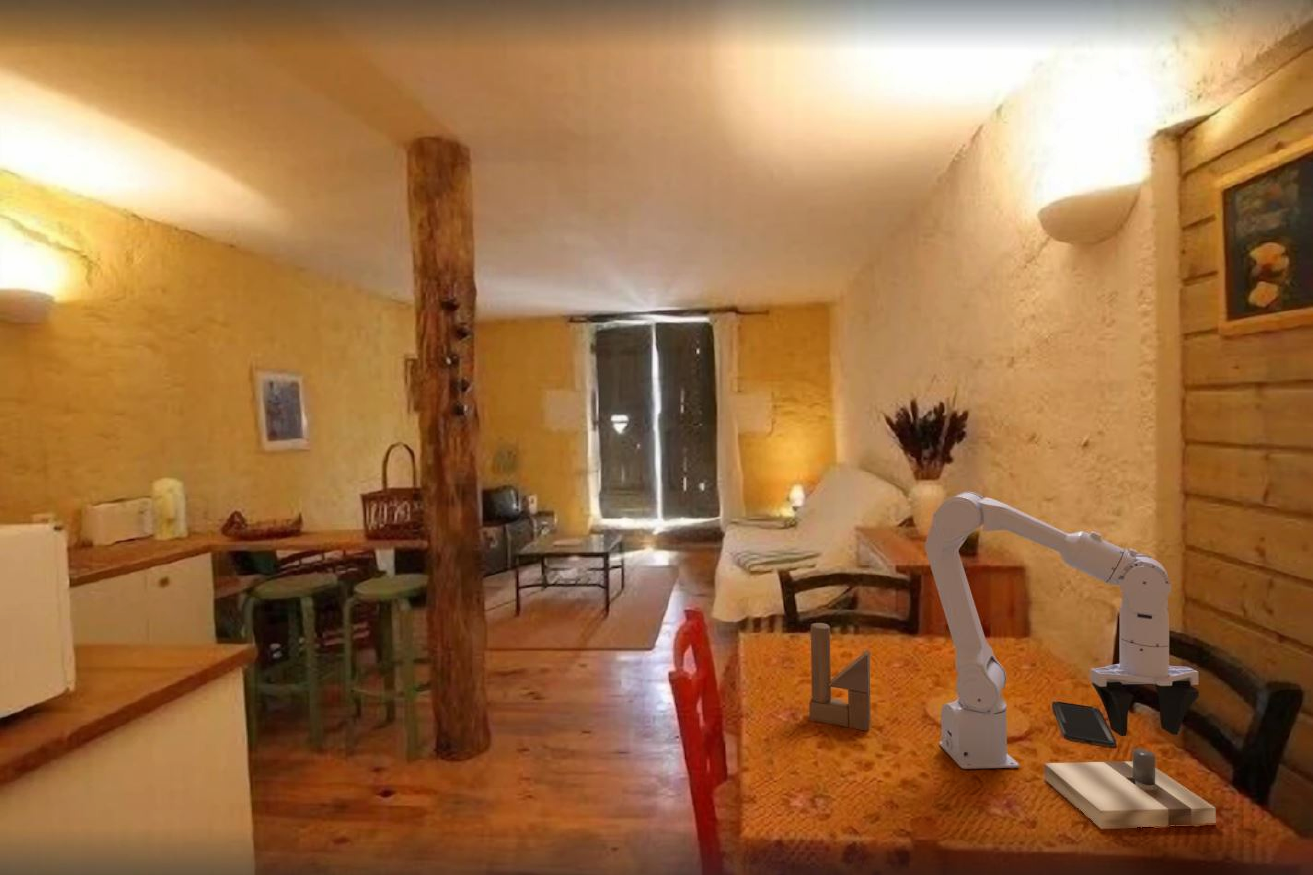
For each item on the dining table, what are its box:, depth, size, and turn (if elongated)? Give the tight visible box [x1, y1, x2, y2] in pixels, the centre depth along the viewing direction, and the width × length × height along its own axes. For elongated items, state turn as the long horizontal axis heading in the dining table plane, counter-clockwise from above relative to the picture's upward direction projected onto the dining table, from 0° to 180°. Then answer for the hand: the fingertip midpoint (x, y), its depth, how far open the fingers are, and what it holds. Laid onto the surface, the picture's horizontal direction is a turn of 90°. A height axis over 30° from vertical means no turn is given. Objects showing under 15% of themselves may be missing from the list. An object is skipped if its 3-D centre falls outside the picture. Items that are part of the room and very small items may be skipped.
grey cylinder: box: [1132, 748, 1156, 790], centre depth 91 cm, size 3×3×7 cm
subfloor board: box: [1043, 760, 1217, 830], centre depth 90 cm, size 16×12×2 cm
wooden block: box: [808, 622, 872, 732], centre depth 116 cm, size 4×11×18 cm, turn 65°
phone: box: [1051, 700, 1117, 748], centre depth 114 cm, size 8×1×15 cm
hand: (1144, 732), depth 90 cm, fingers open, 7 cm apart
